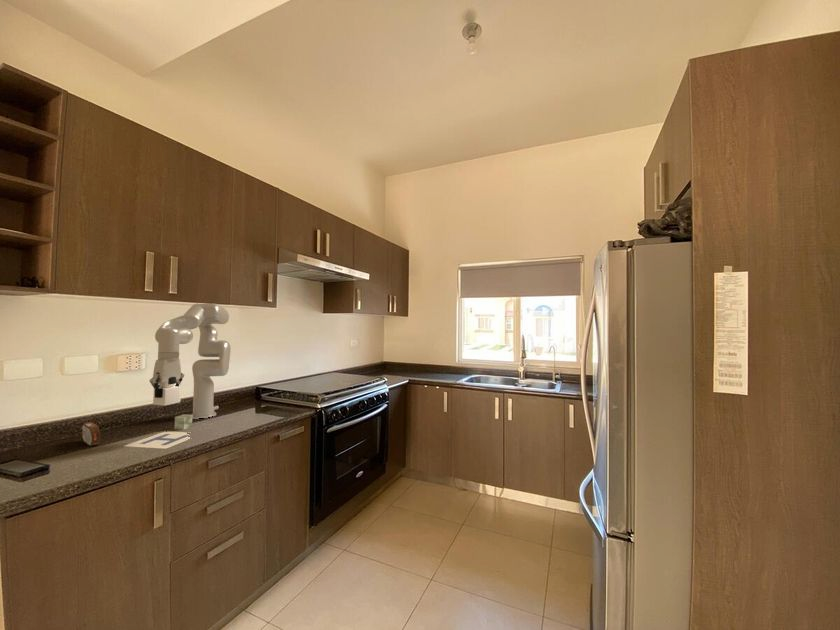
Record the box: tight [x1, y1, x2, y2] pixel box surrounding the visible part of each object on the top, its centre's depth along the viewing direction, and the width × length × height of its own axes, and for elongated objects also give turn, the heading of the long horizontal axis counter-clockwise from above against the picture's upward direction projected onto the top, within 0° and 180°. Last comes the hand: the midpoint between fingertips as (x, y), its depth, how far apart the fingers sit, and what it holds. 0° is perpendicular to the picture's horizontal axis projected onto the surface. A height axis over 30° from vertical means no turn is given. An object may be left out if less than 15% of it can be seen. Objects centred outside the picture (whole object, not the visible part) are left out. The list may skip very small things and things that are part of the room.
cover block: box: [174, 414, 193, 431], centre depth 164 cm, size 5×5×6 cm
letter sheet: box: [124, 430, 190, 450], centre depth 148 cm, size 20×20×1 cm
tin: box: [81, 421, 101, 447], centre depth 142 cm, size 15×3×8 cm, turn 57°
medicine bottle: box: [152, 377, 182, 407], centre depth 148 cm, size 7×7×12 cm
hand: (167, 395), depth 148 cm, fingers closed on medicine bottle, 7 cm apart
